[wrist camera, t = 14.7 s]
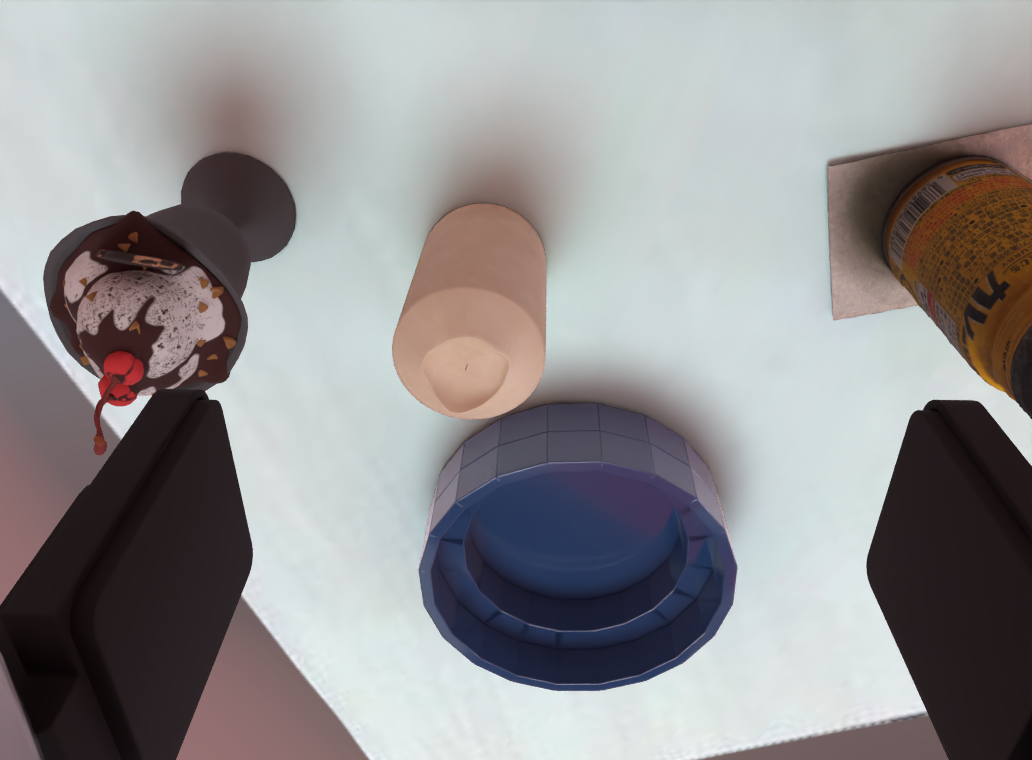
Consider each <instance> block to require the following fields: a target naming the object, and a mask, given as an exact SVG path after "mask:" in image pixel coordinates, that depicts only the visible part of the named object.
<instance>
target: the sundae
mask: <svg viewBox="0 0 1032 760" xmlns="http://www.w3.org/2000/svg"><path fill="white" fill-rule="evenodd" d="M181 203H182V204H180V205H177V206H174V207H170V208H167V209H164V210H161V211H158V212H155V213H153V214H150V215H148V216H146V217H145V216H143V215H142V214H140V213H139V212H136V211H132V212H130V213H128V214H127V215H120V216H110V217H107V218H103V219H100V220H97V221H93V222H91V223H89V224H86V225H84V226H82V227H79V228H77V229H75V230H74V231H72V232H71V233H70V234H68V235H67V236H66V237H65V238H63V239H62V240H61V241H60V242H59V243H58V244H57V245H56V246H55V248H54V249H53V250H52V251H51V252H50V255H49V257H48V260H47V262H46V265H45V270H44V276H43V280H44V291H45V296H46V302H47V307H48V311H49V315H50V319H51V321H52V324H53V326H54V328H55V331H56V333H57V335H58V337H59V339H60V340H61V342H62V344H63V345H64V347H65V349H66V350H67V352H68V353H69V354H70V355H71V356H72V357H73V358H74V359H75V360H76V361H77V362H78V363H79V364H80V365H81V366H82V367H84V368H85V369H86V370H88V371H89V372H91V373H92V374H93V375H95V376H96V377H97V378H99V379H101V380H100V381H99V383H98V387H99V391H100V395H101V397H102V398H101V400H99V402H98V404H97V405H96V410H95V415H94V421H95V426H96V428H97V434H96V436H95V437H94V442H95V445H94V452H95V454H97V455H102V454H104V452H105V451H106V448H107V443H106V441H105V440H104V436H103V433H102V430H101V427H100V420H99V418H100V414H101V411H102V408H103V405H104V404H105V403H106V402H108V403H110V404H111V405H114V406H126V405H129V404H131V403H132V402H133V401H134V400H135V399H136V398H137V395H139V396H147V395H152V396H153V394H154V393H155V392H156V391H157V390H159V389H202V390H203V391H206V390H208V389H209V388H211V387H212V386H214V385H216V384H217V383H222V382H224V381H226V380H227V379H228V377H229V375H230V371H231V369H232V368H233V366H234V365H235V363H236V361H237V360H238V358H239V356H240V354H241V352H242V350H243V347H244V345H245V341H246V336H247V331H248V318H247V314H246V311H245V308H244V305H243V302H242V301H241V298H242V295H243V293H244V290H245V288H246V284H247V280H248V275H249V270H250V265H251V263H250V262H257V261H262V260H265V259H268V258H272V257H273V256H274V255H276V254H277V253H279V252H280V251H281V250H282V249H283V248H284V247H285V246H287V244H288V242H289V240H290V238H291V237H292V234H293V231H294V229H295V218H296V217H295V206H294V203H293V200H292V197H291V195H290V193H289V191H288V189H287V187H286V185H285V184H284V182H283V181H282V180H281V179H280V178H279V176H278V175H277V174H276V173H275V172H274V171H273V170H272V169H270V168H269V167H268V166H266V165H265V164H263V163H261V162H260V161H258V160H256V159H253V158H251V157H249V156H246V155H241V154H236V153H220V154H215V155H212V156H209V157H206V158H203V159H202V160H201V161H200V162H198V163H197V164H196V165H195V166H194V167H193V168H192V169H191V170H190V171H189V172H188V174H187V176H186V178H185V180H184V183H183V187H182V190H181Z"/></svg>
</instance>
